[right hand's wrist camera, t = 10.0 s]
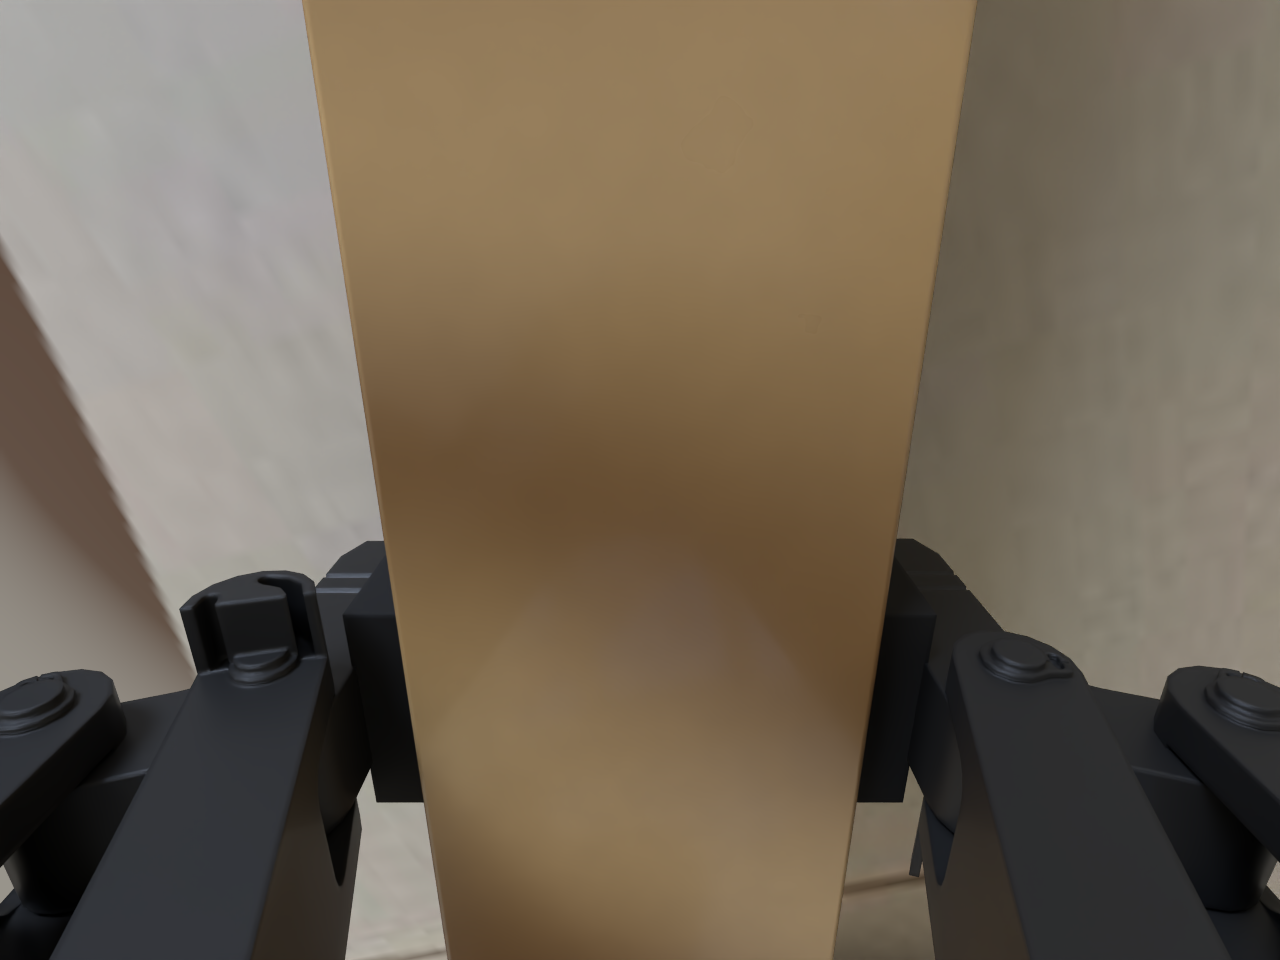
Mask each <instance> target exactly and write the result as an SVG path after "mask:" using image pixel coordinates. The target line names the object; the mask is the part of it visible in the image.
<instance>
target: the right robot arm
mask: <svg viewBox="0 0 1280 960" xmlns="http://www.w3.org/2000/svg"><path fill="white" fill-rule="evenodd" d="M179 610H180V613H181V617H182V620H183V624H184V627H185V631H186V634H187V638H188V642H189V645H190V649H191V652H192V656H193V659H194V663H195V666H196V670H197V673H198V675H197V676H196V678H195V680H194V682H193V684H192V686H191V688H190V689H187V690H183V691H179V692H174V693H169V694H164V695H159V696H153V697H148V698H143V699H138V700H133V701H127V702H123V703H120V700H119V697H118V694H117V692H116V689H115V686H114V683H113V680H112V679H111V678H109V677H108V676H107V675H105V674H104V673H103V672H99V671H92V670H84V669H80V670H71V671H62V672H52V673H47V674H42V675H41V676H40V677H38V676H35V677H32V678H29V679H26V680H23V681H20V682H19V683H17V684H16V685H14V686H12V687H10V688H7V689H5V690H3V691H0V867H1V866H2V865H4V867H5V869H6V871H7V874H8V876H9V878H10V880H11V882H12V884H13V887H14V889H13V890H12V891H11V892H10V894H9V895H8V896H7V897H6V898H5V899H4V900H3V901H2V903H0V960H345V955H346V947H347V939H348V932H349V924H350V916H351V908H352V901H353V893H354V885H355V878H356V870H357V862H358V854H359V847H360V839H361V831H362V827H361V820H360V813H359V808H358V803H357V798H356V797H357V795H358V793H359V791H360V789H361V787H362V785H363V783H364V780H365V778H366V776H367V774H368V772H369V770H370V769H371V774H372V780H373V785H374V791H375V796H376V802H424V800H423V793H422V787H421V780H420V774H419V767H418V760H417V754H416V747H415V741H414V734H413V728H412V721H411V714H410V708H409V701H408V695H407V688H406V681H405V675H404V668H403V662H402V655H401V649H400V642H399V635H398V629H397V622H396V616H395V609H394V602H393V596H392V589H391V583H390V576H389V570H388V563H387V556H386V550H385V543H384V541H366V542H365V543H363V544H361V545H360V546H358V547H356V548H355V549H353V550H351V551H349V552H348V553H346V554H344V555H343V556H341V557H340V558H339V560H338V561H337V562H336V563H335V564H334V566H333V567H332V568H331V569H330V570H329V571H328V573H327V574H326V578H323V579H322V580H321V581H320V582H319V583H318V585H317V586H316V587H315V584H314V581H312V580H311V579H310V578H308V577H307V576H306V575H304V574H300V573H296V572H291V571H261V572H256V573H251V574H246V575H240V576H236V577H233V578H231V579H228V580H225V581H222V582H219V583H216V584H213V585H211V586H210V587H208V588H206V589H204V590H202V591H201V592H199V593H197V594H195V595H194V596H192V597H191V598H190V599H189V600H188V601H187V602H186V603H185V604H184V605H183V606H182V607H181V608H180V609H179ZM909 765H910V768H911V770H912V772H913V774H914V776H915V778H916V780H917V782H918V784H919V786H920V788H921V791H922V793H923V795H924V798H923V803H922V808H921V813H920V818H919V823H918V828H917V833H916V838H915V843H914V848H913V853H912V859H911V865H910V872H909V875H912V876H916V877H919V874H920V869H921V864H922V861H923V868H924V876H925V884H926V891H927V899H928V907H929V914H930V922H931V930H932V937H933V945H934V953H935V960H1280V900H1279V899H1278V898H1277V897H1276V895H1275V894H1274V893H1273V892H1272V891H1271V890H1270V889H1269V888H1268V887H1267V882H1268V880H1269V878H1270V876H1271V874H1272V872H1273V869H1274V867H1275V865H1276V863H1277V861H1279V863H1280V688H1279V687H1277V686H1274V685H1272V684H1270V683H1268V682H1265V681H1264V680H1263V679H1261V678H1259V677H1257V676H1253V675H1250V674H1247V673H1244V672H1243V674H1242V673H1240V672H1239V671H1236V670H1231V669H1227V668H1213V667H1205V666H1193V667H1185V668H1178V669H1177V670H1176V671H1174V672H1173V673H1172V674H1170V675H1169V676H1168V677H1167V680H1166V683H1165V686H1164V689H1163V692H1162V695H1161V698H1160V700H1159V699H1154V698H1149V697H1143V696H1138V695H1133V694H1128V693H1123V692H1117V691H1112V690H1107V689H1102V688H1098V687H1094V686H1090V685H1088V683H1087V681H1086V679H1085V677H1084V675H1083V673H1082V672H1081V671H1080V670H1079V669H1078V667H1077V666H1076V665H1075V664H1074V663H1073V661H1072V660H1071V659H1070V658H1068V657H1067V656H1065V655H1064V654H1062V653H1061V652H1059V651H1058V650H1056V649H1055V648H1053V647H1052V646H1049V645H1047V644H1045V643H1042V642H1040V641H1037V640H1035V639H1032V638H1030V637H1027V636H1023V635H1019V634H1014V633H1010V632H1005V631H1003V629H1002V628H1001V627H1000V626H999V625H998V623H997V622H996V621H995V620H994V619H993V618H992V616H991V615H990V614H989V613H988V612H987V610H986V609H985V608H984V607H983V606H982V605H981V603H980V602H979V601H978V600H977V599H976V598H975V596H974V595H973V594H972V593H971V592H970V590H966V586H965V585H964V583H963V582H962V581H961V580H960V579H959V577H958V576H957V575H954V574H953V570H952V569H951V568H950V567H949V566H948V565H947V563H946V562H945V561H944V560H943V559H942V557H941V556H940V555H939V554H938V553H936V552H934V551H933V550H931V549H929V548H928V547H926V546H924V545H922V544H921V543H919V542H917V541H916V540H914V539H896V544H895V551H894V558H893V564H892V571H891V578H890V584H889V591H888V598H887V604H886V611H885V617H884V624H883V631H882V637H881V644H880V651H879V657H878V664H877V670H876V677H875V684H874V690H873V697H872V704H871V710H870V717H869V723H868V730H867V737H866V743H865V750H864V757H863V763H862V770H861V777H860V783H859V790H858V796H857V802H903V798H904V793H905V787H906V782H907V776H908V771H909Z"/></svg>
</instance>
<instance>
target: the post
mask: <svg viewBox="0 0 1280 960" xmlns="http://www.w3.org/2000/svg"><path fill="white" fill-rule="evenodd" d="M977 1H978V0H302V3H303V10H304V17H305V23H306V30H307V36H308V43H309V49H310V56H311V63H312V69H313V76H314V82H315V89H316V96H317V102H318V109H319V115H320V122H321V128H322V135H323V142H324V148H325V155H326V161H327V168H328V175H329V181H330V188H331V194H332V201H333V207H334V214H335V221H336V227H337V234H338V240H339V247H340V254H341V260H342V267H343V273H344V280H345V286H346V293H347V300H348V306H349V313H350V319H351V326H352V333H353V339H354V346H355V352H356V359H357V365H358V372H359V379H360V385H361V392H362V398H363V405H364V412H365V418H366V425H367V431H368V438H369V444H370V451H371V458H372V464H373V471H374V477H375V484H376V491H377V497H378V504H379V510H380V517H381V523H382V530H383V537H384V543H385V550H386V556H387V563H388V570H389V576H390V583H391V589H392V596H393V602H394V609H395V616H396V622H397V629H398V635H399V642H400V649H401V655H402V662H403V668H404V675H405V681H406V688H407V695H408V701H409V708H410V714H411V721H412V728H413V734H414V741H415V747H416V754H417V760H418V767H419V774H420V780H421V787H422V793H423V800H424V807H425V813H426V820H427V826H428V833H429V839H430V846H431V853H432V859H433V866H434V872H435V879H436V886H437V892H438V899H439V905H440V912H441V918H442V925H443V932H444V938H445V945H446V951H447V958H448V960H833V956H834V949H835V942H836V936H837V929H838V922H839V916H840V909H841V903H842V896H843V889H844V883H845V876H846V869H847V863H848V856H849V849H850V843H851V836H852V830H853V823H854V816H855V810H856V803H857V796H858V790H859V783H860V777H861V770H862V763H863V757H864V750H865V743H866V737H867V730H868V723H869V717H870V710H871V704H872V697H873V690H874V684H875V677H876V670H877V664H878V657H879V651H880V644H881V637H882V631H883V624H884V617H885V611H886V604H887V598H888V591H889V584H890V578H891V571H892V564H893V558H894V551H895V544H896V538H897V531H898V525H899V518H900V511H901V505H902V498H903V491H904V485H905V478H906V472H907V465H908V458H909V452H910V445H911V438H912V432H913V425H914V418H915V412H916V405H917V399H918V392H919V385H920V379H921V372H922V365H923V359H924V352H925V346H926V339H927V332H928V326H929V319H930V312H931V306H932V299H933V293H934V286H935V279H936V273H937V266H938V259H939V253H940V246H941V239H942V233H943V226H944V220H945V213H946V206H947V200H948V193H949V186H950V180H951V173H952V167H953V160H954V153H955V147H956V140H957V133H958V127H959V120H960V113H961V107H962V100H963V94H964V87H965V80H966V74H967V67H968V60H969V54H970V47H971V41H972V34H973V27H974V21H975V14H976V7H977Z"/></svg>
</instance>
